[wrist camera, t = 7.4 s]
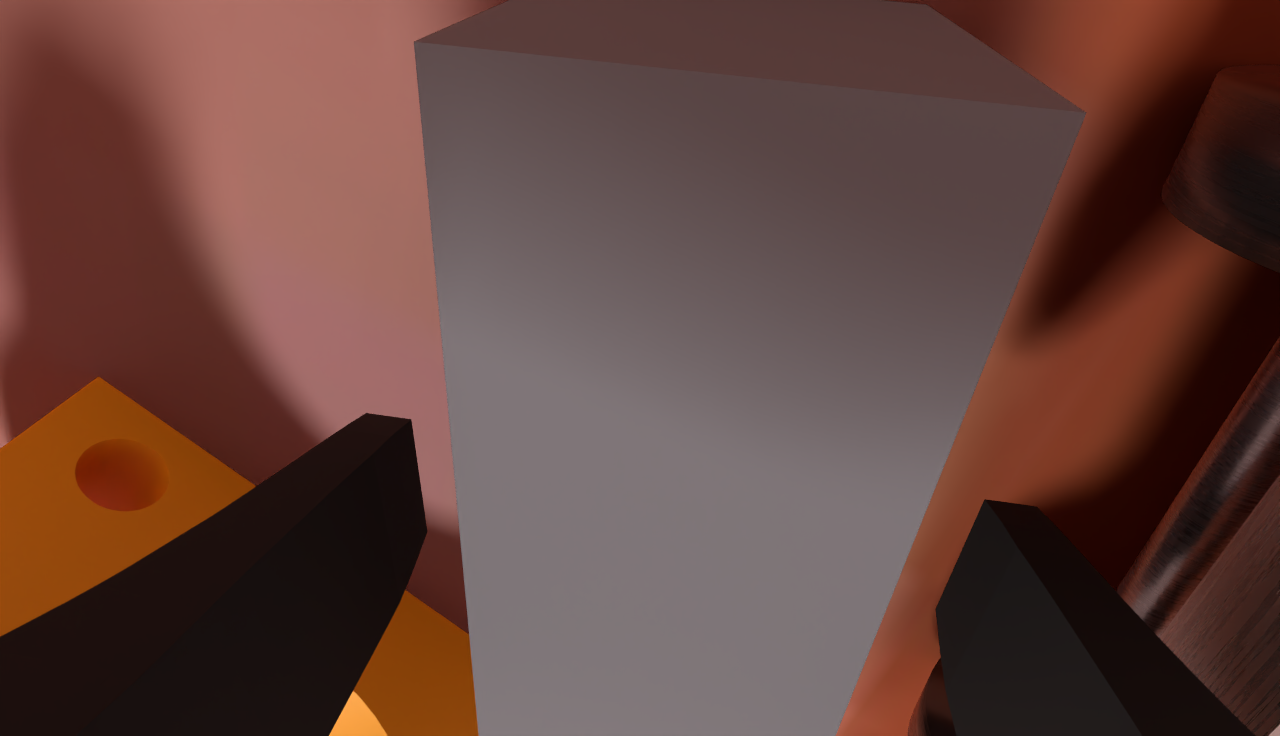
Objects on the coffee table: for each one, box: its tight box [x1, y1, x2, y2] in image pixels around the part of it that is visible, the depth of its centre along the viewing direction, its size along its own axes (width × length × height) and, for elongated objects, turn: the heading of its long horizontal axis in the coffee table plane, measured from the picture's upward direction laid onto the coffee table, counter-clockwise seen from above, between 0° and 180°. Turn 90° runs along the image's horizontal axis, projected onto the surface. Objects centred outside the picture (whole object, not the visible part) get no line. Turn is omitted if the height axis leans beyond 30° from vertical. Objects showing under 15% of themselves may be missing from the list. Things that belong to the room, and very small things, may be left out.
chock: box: [414, 0, 1086, 736], centre depth 9 cm, size 4×11×5 cm, turn 176°
